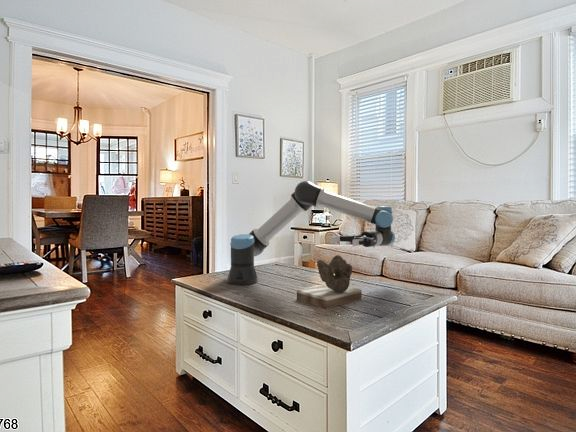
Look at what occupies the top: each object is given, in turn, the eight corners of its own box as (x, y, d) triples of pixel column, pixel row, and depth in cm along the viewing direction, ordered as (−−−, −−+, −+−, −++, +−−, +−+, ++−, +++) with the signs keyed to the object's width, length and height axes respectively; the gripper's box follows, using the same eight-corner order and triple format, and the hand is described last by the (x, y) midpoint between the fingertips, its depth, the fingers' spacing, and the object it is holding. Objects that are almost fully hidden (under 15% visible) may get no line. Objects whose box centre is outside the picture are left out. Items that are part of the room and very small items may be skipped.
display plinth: (296, 299, 151) (296, 289, 151) (331, 291, 165) (331, 282, 165) (326, 308, 139) (326, 298, 138) (361, 299, 152) (361, 289, 152)
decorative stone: (330, 296, 141) (330, 257, 140) (311, 291, 149) (311, 254, 149) (357, 290, 150) (358, 254, 150) (338, 285, 159) (338, 251, 158)
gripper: (393, 249, 165) (363, 253, 151) (350, 243, 184) (320, 246, 170) (393, 233, 165) (364, 235, 151) (350, 228, 184) (321, 230, 170)
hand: (340, 241), depth 161 cm, fingers open, 13 cm apart
